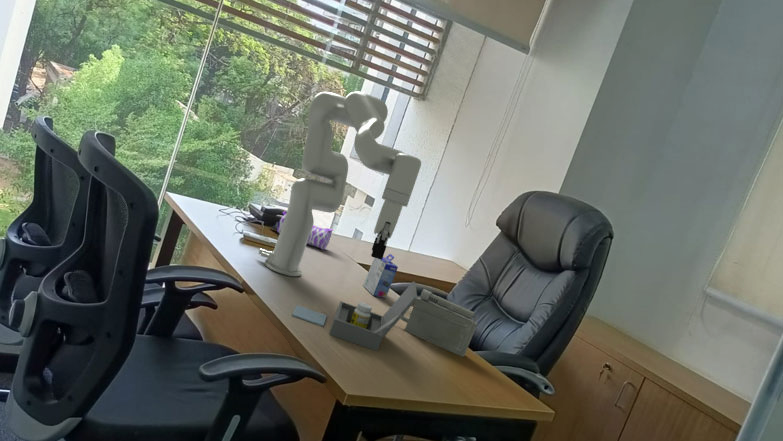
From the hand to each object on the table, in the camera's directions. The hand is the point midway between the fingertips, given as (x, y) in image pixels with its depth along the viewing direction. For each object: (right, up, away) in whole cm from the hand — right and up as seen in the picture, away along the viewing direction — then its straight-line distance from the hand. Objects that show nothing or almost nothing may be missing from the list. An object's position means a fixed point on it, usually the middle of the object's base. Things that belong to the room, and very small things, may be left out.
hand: (376, 254), depth 189 cm
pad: (-19, -17, -2) cm, 25 cm away
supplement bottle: (-6, -22, -2) cm, 23 cm away
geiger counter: (+15, -27, +16) cm, 34 cm away
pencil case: (-33, +1, +82) cm, 89 cm away
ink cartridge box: (-2, -16, +47) cm, 49 cm away
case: (-4, -23, -2) cm, 23 cm away
